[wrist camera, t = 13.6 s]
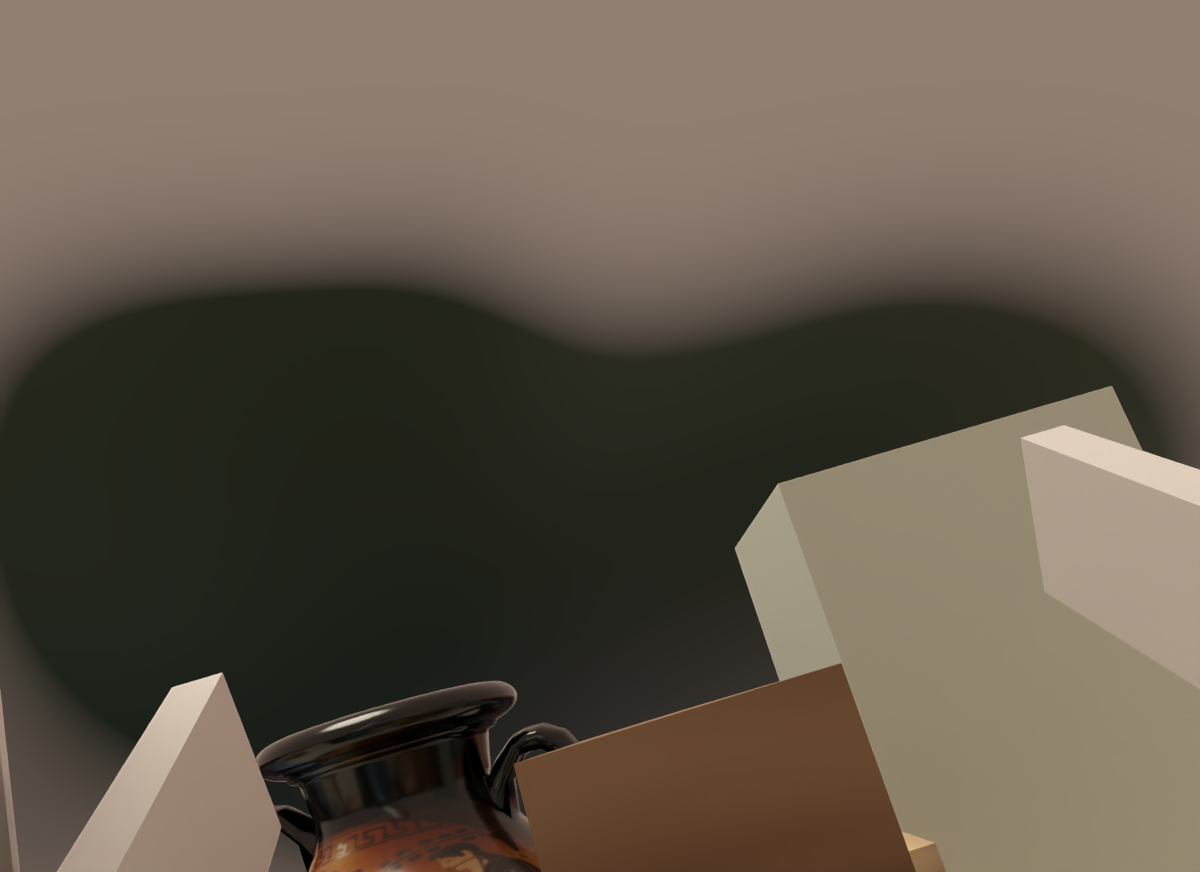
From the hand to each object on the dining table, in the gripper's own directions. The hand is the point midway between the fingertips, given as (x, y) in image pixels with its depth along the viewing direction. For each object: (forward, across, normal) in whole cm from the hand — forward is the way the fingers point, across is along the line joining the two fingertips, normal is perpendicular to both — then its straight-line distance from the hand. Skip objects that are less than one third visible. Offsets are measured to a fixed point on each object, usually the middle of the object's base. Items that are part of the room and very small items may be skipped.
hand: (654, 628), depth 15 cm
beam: (+7, 0, -10) cm, 12 cm away
